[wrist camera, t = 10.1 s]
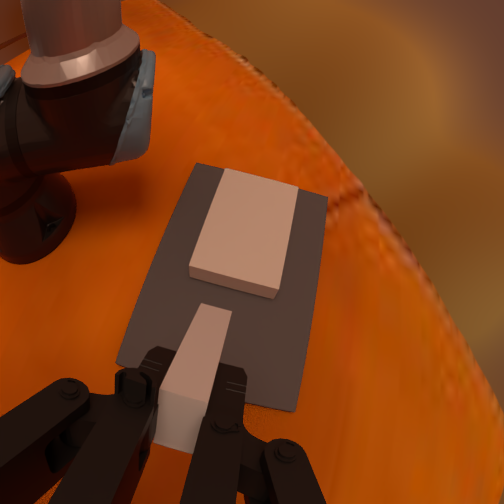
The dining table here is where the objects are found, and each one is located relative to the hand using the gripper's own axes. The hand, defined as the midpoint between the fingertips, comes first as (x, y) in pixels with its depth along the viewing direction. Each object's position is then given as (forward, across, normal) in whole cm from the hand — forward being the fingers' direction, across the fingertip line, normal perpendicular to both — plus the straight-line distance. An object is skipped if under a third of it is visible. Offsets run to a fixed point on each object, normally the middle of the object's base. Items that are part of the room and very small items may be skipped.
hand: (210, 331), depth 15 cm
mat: (+24, 0, -5) cm, 25 cm away
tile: (+20, 0, -5) cm, 21 cm away
